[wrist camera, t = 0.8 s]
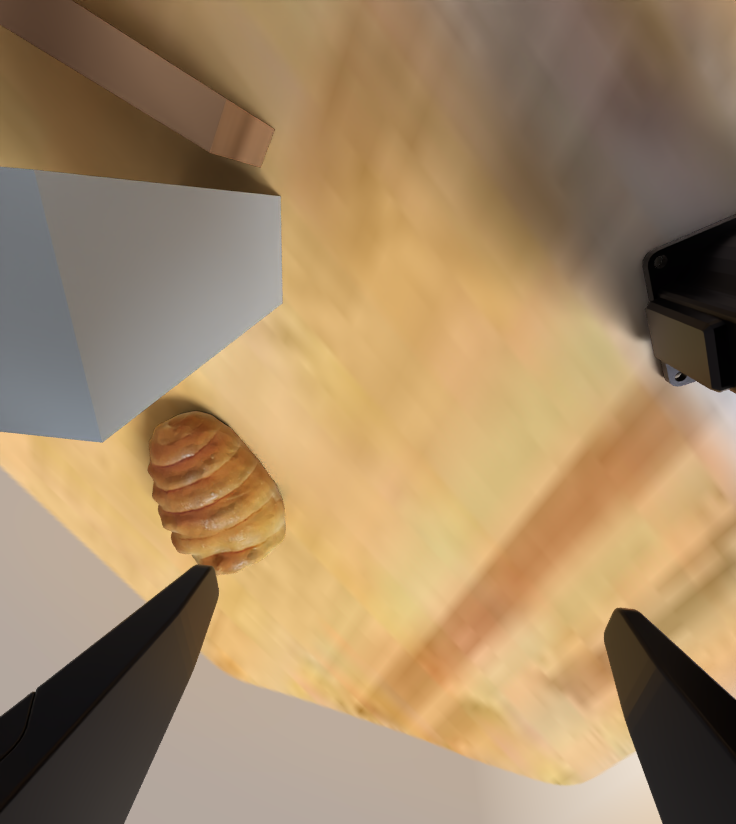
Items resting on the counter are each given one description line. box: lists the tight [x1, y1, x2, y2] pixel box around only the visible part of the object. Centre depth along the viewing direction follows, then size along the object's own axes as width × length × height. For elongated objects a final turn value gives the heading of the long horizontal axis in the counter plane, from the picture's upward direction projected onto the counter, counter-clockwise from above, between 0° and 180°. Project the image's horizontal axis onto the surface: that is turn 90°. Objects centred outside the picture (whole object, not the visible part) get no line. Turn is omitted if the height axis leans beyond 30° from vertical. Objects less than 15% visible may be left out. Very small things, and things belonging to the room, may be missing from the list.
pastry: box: [148, 411, 286, 575], centre depth 23 cm, size 9×7×4 cm
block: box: [0, 167, 282, 442], centre depth 13 cm, size 4×4×13 cm
